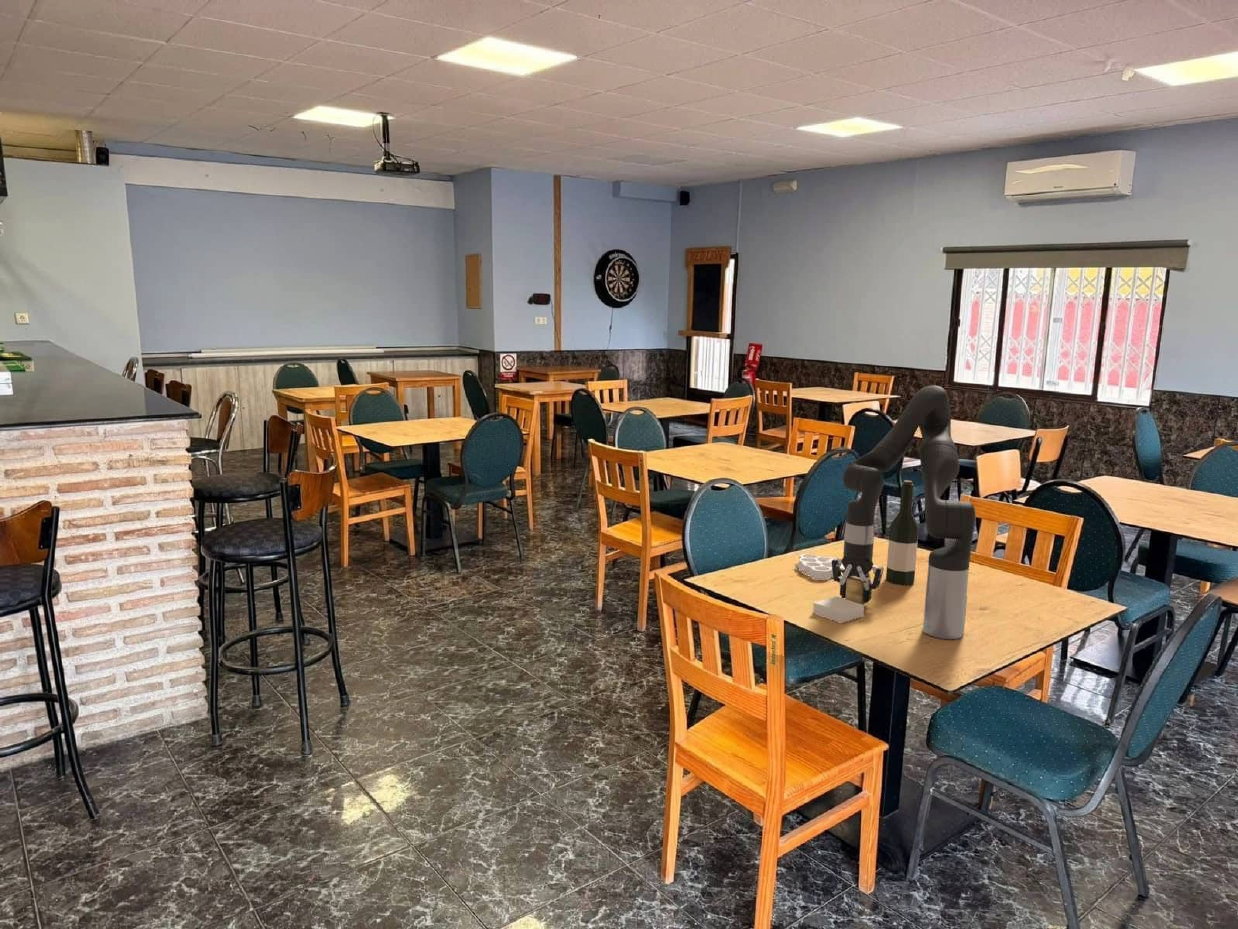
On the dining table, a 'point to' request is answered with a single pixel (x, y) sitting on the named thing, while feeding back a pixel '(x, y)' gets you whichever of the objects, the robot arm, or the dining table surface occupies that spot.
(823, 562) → the white holed flat part
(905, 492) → the wine bottle
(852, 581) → the ochre cylinder
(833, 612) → the white base
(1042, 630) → the dining table surface
